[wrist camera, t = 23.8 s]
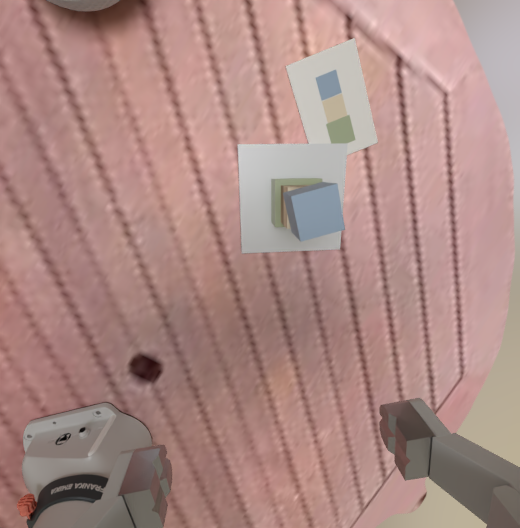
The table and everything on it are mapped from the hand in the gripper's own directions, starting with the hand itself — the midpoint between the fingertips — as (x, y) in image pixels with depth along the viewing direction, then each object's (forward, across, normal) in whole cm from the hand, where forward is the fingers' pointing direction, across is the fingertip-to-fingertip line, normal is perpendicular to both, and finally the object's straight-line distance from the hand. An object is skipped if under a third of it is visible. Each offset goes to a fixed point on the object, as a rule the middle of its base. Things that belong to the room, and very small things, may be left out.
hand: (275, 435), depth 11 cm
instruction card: (+37, -16, -16) cm, 43 cm away
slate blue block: (+27, -8, -4) cm, 28 cm away
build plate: (+37, -8, -4) cm, 38 cm away
